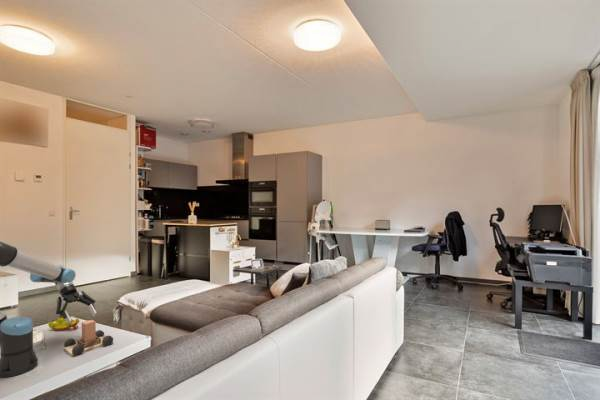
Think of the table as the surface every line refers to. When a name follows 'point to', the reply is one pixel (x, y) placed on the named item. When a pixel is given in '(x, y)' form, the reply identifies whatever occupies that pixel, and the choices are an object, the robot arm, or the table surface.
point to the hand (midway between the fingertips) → (82, 318)
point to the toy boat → (63, 324)
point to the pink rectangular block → (88, 331)
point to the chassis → (87, 344)
